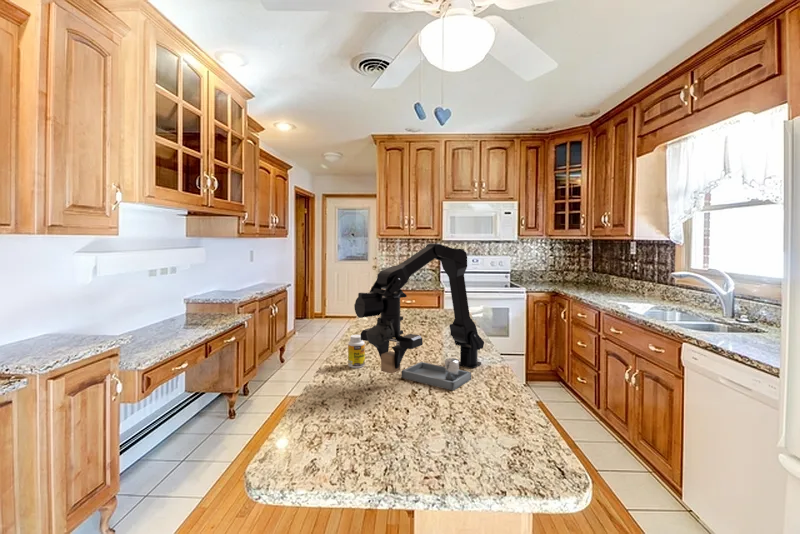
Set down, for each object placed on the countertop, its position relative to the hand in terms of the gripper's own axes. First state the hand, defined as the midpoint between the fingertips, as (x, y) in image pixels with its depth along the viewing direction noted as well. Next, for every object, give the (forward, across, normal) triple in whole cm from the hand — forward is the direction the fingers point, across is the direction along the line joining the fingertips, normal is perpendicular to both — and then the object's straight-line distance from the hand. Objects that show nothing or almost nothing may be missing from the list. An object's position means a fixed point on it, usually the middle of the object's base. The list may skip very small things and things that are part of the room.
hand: (390, 366), depth 116 cm
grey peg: (+5, +14, +12) cm, 19 cm away
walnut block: (+1, 0, 0) cm, 1 cm away
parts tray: (+5, +8, +12) cm, 15 cm away
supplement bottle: (+6, -20, +7) cm, 22 cm away
